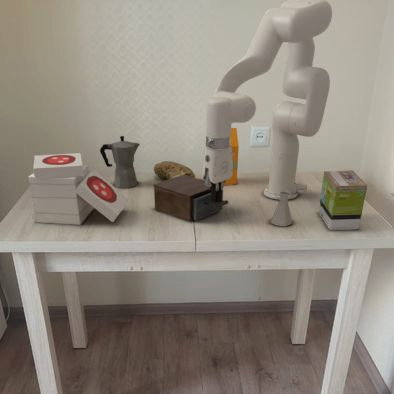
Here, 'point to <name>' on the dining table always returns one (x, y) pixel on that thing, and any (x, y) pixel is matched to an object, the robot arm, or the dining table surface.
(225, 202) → the drawer
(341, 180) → the tea box
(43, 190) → the pizza boxes
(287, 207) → the flask
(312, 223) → the dining table surface
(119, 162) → the coffeepot
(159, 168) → the sponge
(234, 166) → the orange juice
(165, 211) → the cabinet
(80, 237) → the dining table surface
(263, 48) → the robot arm
